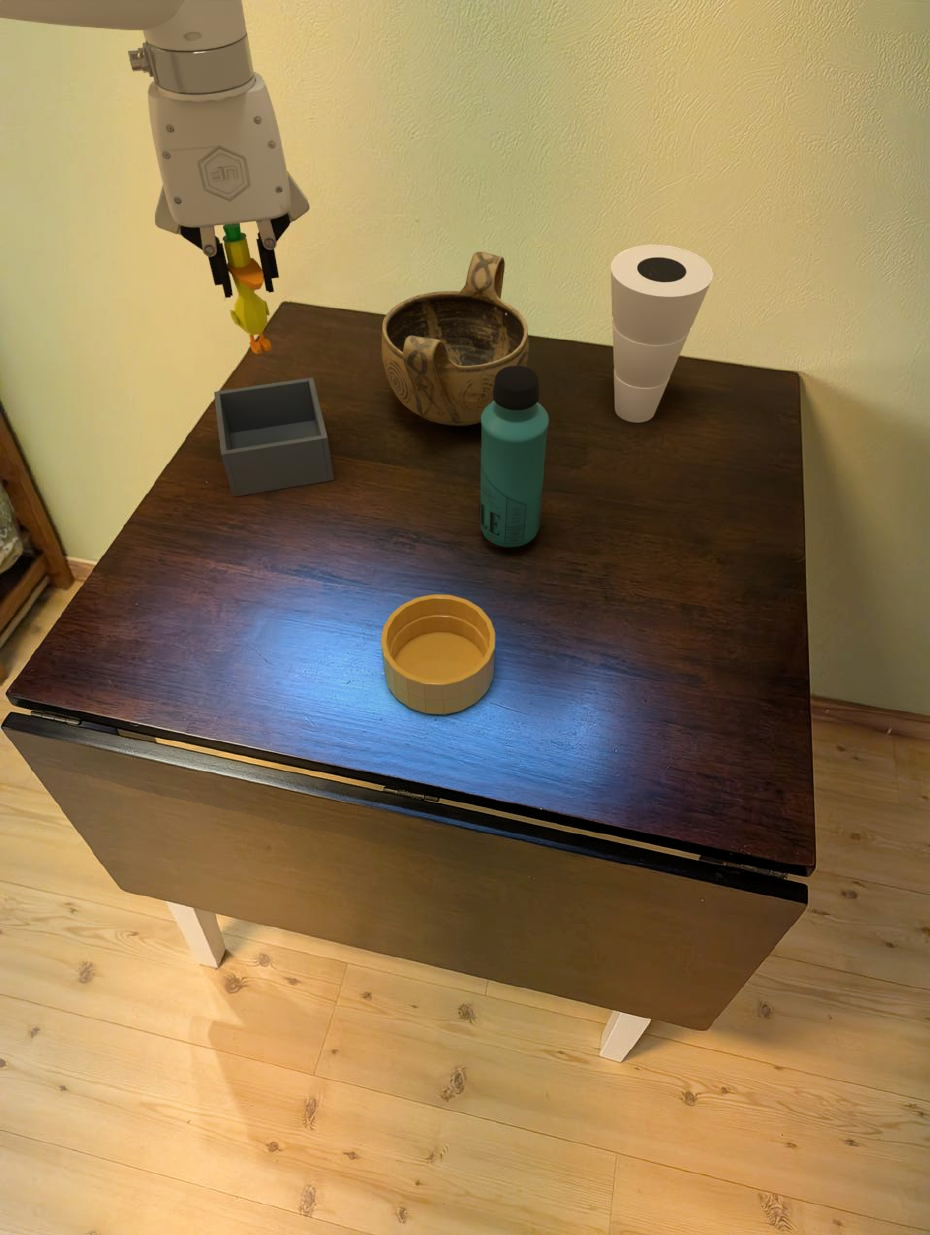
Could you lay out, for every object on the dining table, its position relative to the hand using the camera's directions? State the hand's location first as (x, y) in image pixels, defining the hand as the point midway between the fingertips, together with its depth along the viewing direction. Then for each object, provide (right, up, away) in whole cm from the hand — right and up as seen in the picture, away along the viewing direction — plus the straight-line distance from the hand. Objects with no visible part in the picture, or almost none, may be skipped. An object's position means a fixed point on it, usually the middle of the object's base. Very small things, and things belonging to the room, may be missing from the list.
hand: (248, 285), depth 79 cm
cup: (+41, -6, +24) cm, 48 cm away
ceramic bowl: (+19, -5, +24) cm, 31 cm away
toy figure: (0, -4, +5) cm, 7 cm away
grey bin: (-1, -12, +18) cm, 22 cm away
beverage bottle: (+25, -23, +10) cm, 35 cm away
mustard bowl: (+18, -36, -1) cm, 40 cm away
